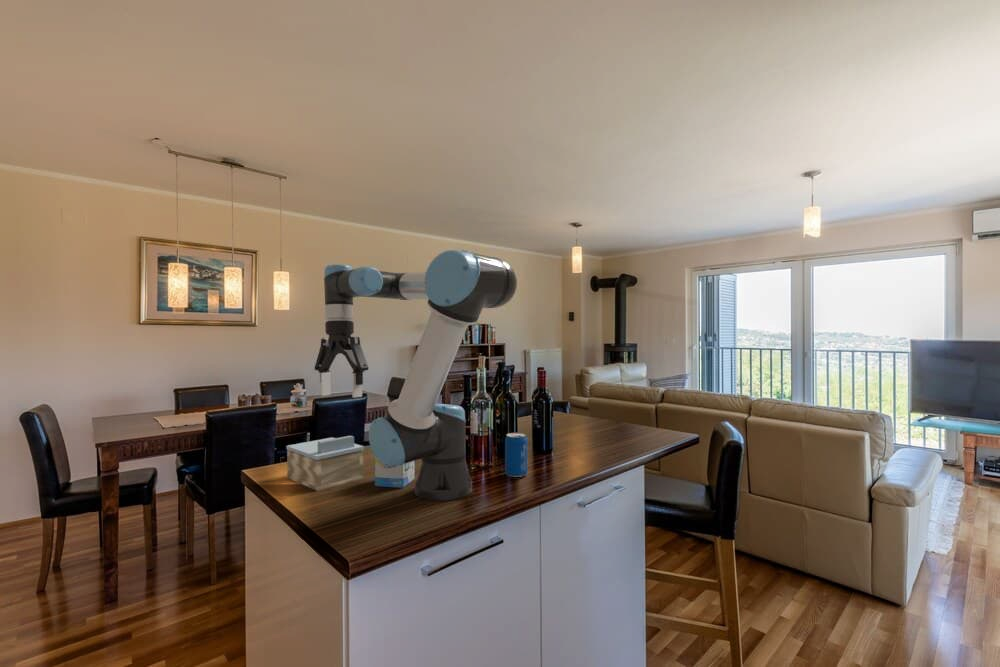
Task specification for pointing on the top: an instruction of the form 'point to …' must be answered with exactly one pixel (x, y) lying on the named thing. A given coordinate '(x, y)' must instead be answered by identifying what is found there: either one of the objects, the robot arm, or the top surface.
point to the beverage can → (516, 454)
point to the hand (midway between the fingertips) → (341, 396)
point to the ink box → (393, 474)
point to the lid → (326, 447)
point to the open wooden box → (325, 469)
